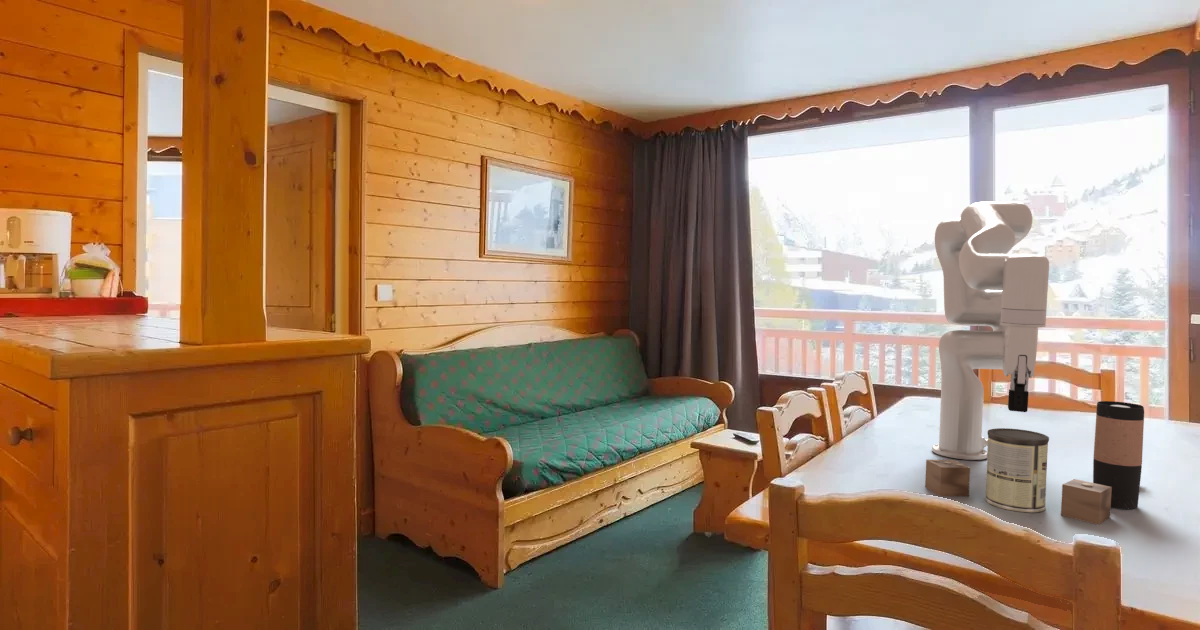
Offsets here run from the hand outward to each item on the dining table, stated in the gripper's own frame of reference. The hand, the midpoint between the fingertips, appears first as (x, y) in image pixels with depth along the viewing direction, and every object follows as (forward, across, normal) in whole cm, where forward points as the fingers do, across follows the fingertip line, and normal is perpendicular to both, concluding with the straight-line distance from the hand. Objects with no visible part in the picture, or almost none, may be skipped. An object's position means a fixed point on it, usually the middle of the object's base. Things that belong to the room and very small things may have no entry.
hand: (1017, 410), depth 133 cm
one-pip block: (+18, +3, +12) cm, 22 cm away
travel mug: (+19, -9, +18) cm, 28 cm away
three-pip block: (+19, -1, -12) cm, 22 cm away
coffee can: (+19, +1, 0) cm, 19 cm away
